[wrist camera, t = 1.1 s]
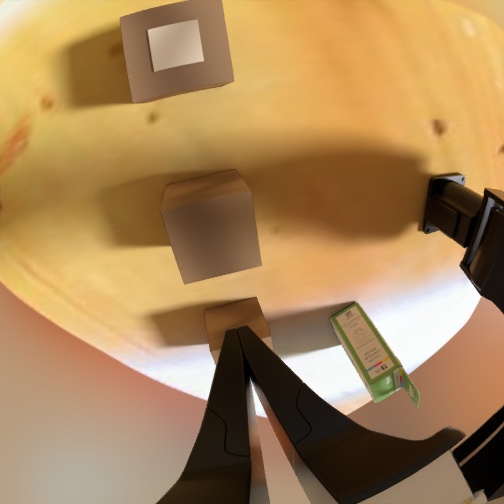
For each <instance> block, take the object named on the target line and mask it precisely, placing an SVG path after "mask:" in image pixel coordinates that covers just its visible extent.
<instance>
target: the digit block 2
mask: <svg viewBox="0 0 504 504" xmlns="http://www.w3.org/2000/svg"><path fill="white" fill-rule="evenodd" d="M204 314H205V321H206V328H207V335H208V341H209V347H210V352H211V355H212V357H213V359H214V362H215V364H216V365H217V361H218V357H219V353H220V349H221V345H222V341H223V337H224V333H225V331H226V330H227V329H231V328H236V329H237V327H239V326H243V325H248V326H249V327H250V328H251V329H252V330H253V331H254V332H255V333H256V334H257V335H258V336H259V337H260V338H261V339H262V340H263V342H264V343H265V344H266V345H267V346H268V347H269V348H270V349H271V350H272V351H273V344H272V337H271V334H270V331H269V328H268V326H267V323H266V321H265V318H264V315H263V313H262V310H261V307H260V305H259V302H258V299H257V297H255V298H251V299H247V300H243V301H239V302H235V303H231V304H227V305H223V306H219V307H214V308H210V309H206V310H204Z"/></svg>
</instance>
